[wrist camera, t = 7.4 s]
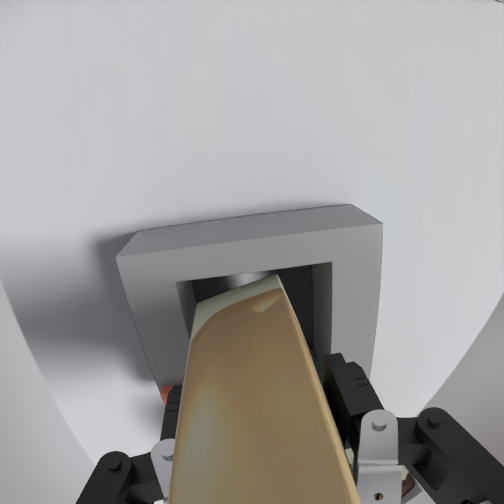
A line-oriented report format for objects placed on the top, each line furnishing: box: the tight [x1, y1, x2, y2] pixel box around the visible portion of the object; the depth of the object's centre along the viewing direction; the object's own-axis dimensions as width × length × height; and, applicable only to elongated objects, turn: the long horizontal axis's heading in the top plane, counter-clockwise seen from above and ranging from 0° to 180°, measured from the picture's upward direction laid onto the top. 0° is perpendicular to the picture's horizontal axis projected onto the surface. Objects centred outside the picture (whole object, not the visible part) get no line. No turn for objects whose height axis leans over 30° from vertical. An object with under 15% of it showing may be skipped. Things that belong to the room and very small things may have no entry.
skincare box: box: [168, 274, 362, 504], centre depth 10 cm, size 6×4×12 cm
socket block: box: [115, 204, 383, 406], centre depth 17 cm, size 12×11×5 cm
